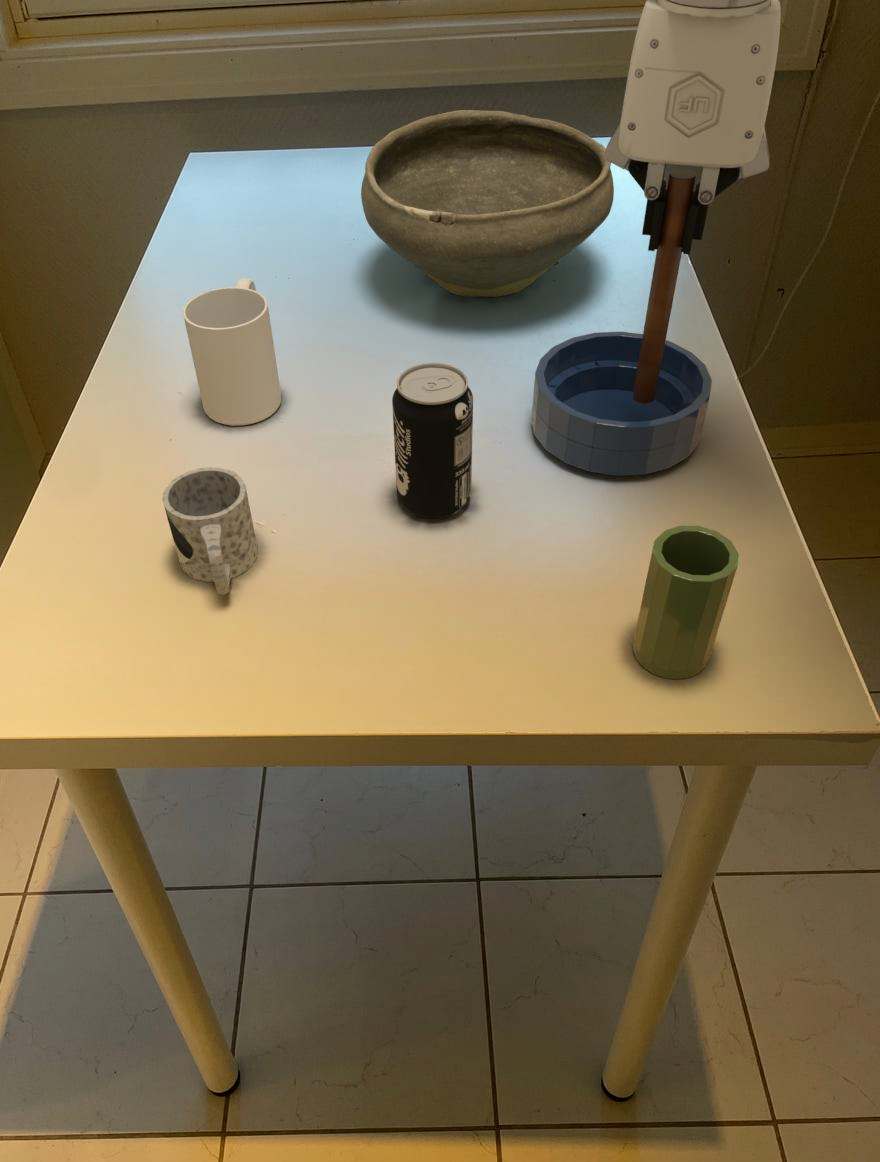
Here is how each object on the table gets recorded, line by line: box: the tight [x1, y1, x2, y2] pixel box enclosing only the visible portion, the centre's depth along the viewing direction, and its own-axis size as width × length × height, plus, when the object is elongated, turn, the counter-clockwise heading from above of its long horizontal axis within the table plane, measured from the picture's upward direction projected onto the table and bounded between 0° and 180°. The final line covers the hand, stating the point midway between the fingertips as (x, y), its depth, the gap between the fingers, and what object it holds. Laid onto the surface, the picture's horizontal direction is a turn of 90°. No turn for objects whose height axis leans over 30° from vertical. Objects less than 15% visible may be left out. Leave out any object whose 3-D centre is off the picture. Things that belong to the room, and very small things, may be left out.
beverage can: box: [391, 362, 474, 520], centre depth 81 cm, size 7×7×12 cm
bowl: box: [360, 109, 615, 298], centre depth 108 cm, size 28×28×14 cm
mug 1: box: [182, 277, 282, 426], centre depth 94 cm, size 12×8×10 cm, turn 172°
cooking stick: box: [633, 168, 697, 404], centre depth 81 cm, size 2×2×20 cm
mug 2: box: [162, 466, 259, 595], centre depth 78 cm, size 10×7×7 cm, turn 13°
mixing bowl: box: [531, 331, 713, 477], centre depth 89 cm, size 16×16×6 cm
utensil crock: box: [632, 525, 740, 680], centre depth 69 cm, size 6×6×10 cm
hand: (670, 243), depth 78 cm, fingers closed on cooking stick, 2 cm apart
